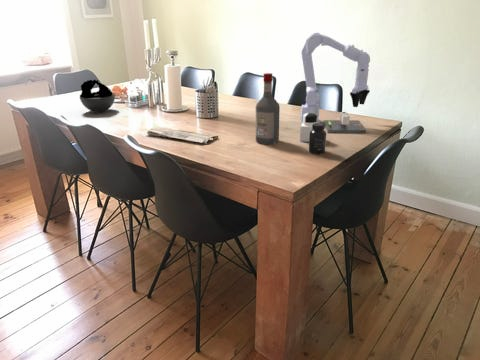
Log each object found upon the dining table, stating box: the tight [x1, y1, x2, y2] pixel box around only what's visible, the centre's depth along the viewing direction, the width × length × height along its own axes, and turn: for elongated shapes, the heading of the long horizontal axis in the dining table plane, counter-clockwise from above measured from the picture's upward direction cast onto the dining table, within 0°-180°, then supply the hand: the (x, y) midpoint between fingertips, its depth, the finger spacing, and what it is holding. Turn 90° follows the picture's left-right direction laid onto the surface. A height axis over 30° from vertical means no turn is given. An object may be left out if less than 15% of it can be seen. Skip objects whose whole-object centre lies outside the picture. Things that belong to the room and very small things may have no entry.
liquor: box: [255, 72, 280, 145], centre depth 172 cm, size 9×9×30 cm
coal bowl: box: [79, 79, 116, 113], centre depth 233 cm, size 20×20×19 cm
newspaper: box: [143, 126, 219, 145], centre depth 186 cm, size 35×12×4 cm, turn 63°
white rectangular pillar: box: [339, 111, 351, 125], centre depth 195 cm, size 3×9×6 cm, turn 175°
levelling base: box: [323, 119, 367, 134], centre depth 196 cm, size 18×18×3 cm
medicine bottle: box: [299, 113, 317, 143], centre depth 177 cm, size 7×7×12 cm
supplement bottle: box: [308, 122, 327, 155], centre depth 162 cm, size 7×7×12 cm
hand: (358, 105), depth 199 cm, fingers open, 7 cm apart
